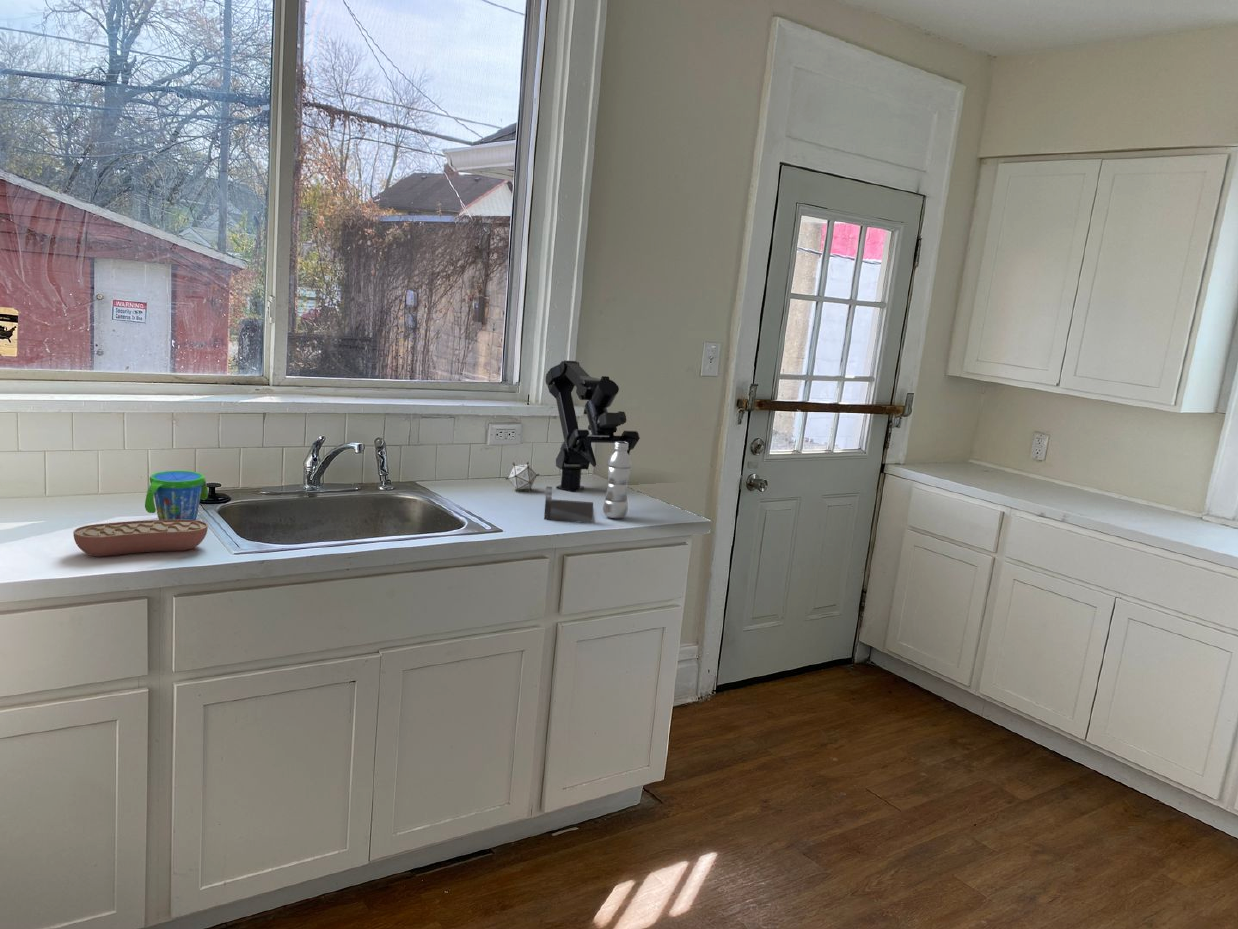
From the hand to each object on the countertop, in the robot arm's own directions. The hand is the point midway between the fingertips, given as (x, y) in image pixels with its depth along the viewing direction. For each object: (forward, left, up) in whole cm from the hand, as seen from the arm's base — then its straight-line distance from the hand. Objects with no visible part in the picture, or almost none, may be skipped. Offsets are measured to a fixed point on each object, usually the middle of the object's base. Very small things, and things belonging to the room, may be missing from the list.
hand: (611, 466), depth 236 cm
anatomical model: (+91, -62, -13) cm, 111 cm away
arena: (+8, -8, -13) cm, 17 cm away
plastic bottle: (+4, +4, -13) cm, 14 cm away
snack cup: (+72, -73, -13) cm, 103 cm away
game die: (-8, -29, -13) cm, 33 cm away
